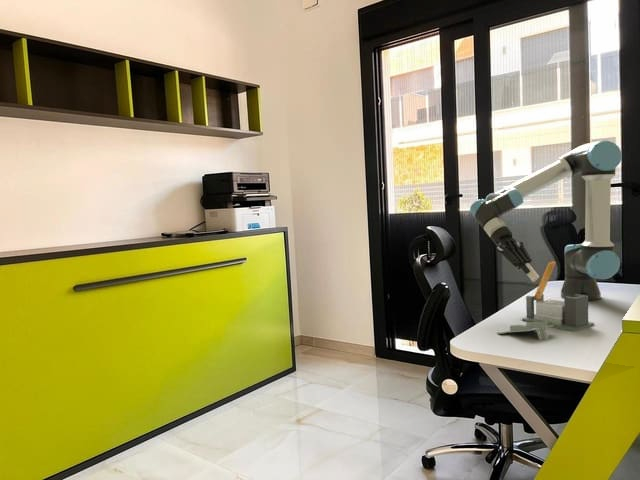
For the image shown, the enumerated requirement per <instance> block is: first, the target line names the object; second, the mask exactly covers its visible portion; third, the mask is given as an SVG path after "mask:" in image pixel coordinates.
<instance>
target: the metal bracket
mask: <svg viewBox="0 0 640 480" xmlns="http://www.w3.org/2000/svg"><path fill="white" fill-rule="evenodd" d="M550 326H554V325H550ZM550 326H548V322H547V321H543V322H542V323H541V322H526V324H524V325H523V324H513V325H510V326H509V330H505V331H500V332H496V334H497V335H501V334H503V335H504V334H507V333H518V332H530V331H534V330H535V331H536V333H537V337H538V340H539V341H541V340H546V339H549V336H548V333H547V328H550Z"/></svg>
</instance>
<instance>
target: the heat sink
mask: <svg viewBox="0 0 640 480" xmlns="http://www.w3.org/2000/svg"><path fill="white" fill-rule="evenodd" d="M534 296H535V295H534ZM534 296H533V295H527V296H525V297H526V298H525V299H526V301H525V302H526V303H525V305H526V306H525V307H526V317H529V318H534V315H535V320H538V321H547V322H548V323H552V324H557V325H565V306H564V300H558V299H552V298H548V299H545V298H544V296H545V295H544V293H543V294H542V296H541V297H542V298H541V299H539V300H534Z"/></svg>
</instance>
